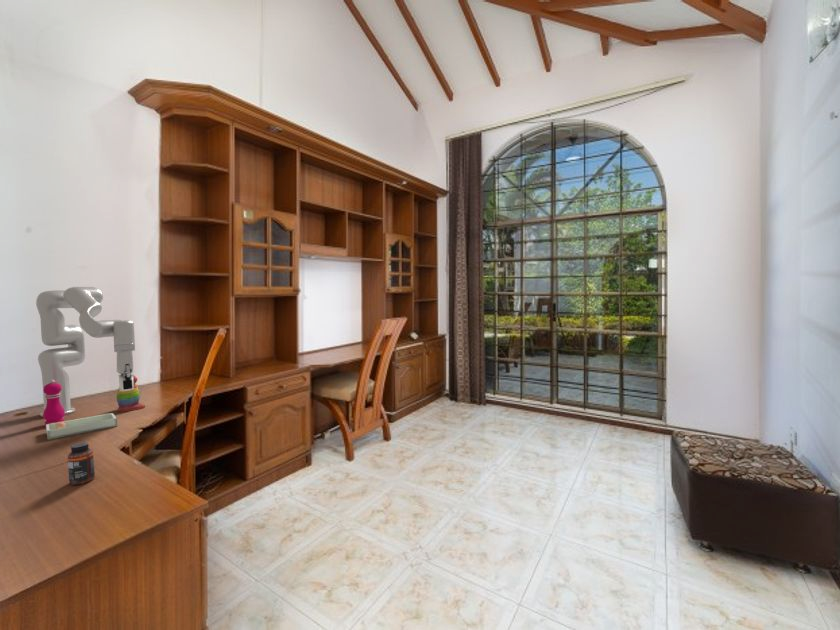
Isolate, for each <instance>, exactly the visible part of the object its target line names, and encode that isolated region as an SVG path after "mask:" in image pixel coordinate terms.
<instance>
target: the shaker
mask: <svg viewBox="0 0 840 630" xmlns="http://www.w3.org/2000/svg"><path fill="white" fill-rule="evenodd" d="M125 376H126V375H125ZM133 376H135V375H134V374H133V373H131V378H132V389H125V390H124V389H123V381H124V378H123V375H121V374H119V375H118V384H119V386H118V389H120V391H130V390H133V389H134V382H133Z"/></svg>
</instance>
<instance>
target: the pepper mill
mask: <svg viewBox="0 0 840 630" xmlns="http://www.w3.org/2000/svg"><path fill="white" fill-rule="evenodd" d="M54 382H55V380H50V384H47V385H45V387H44V388H43V387H42V392H43V391H44V393H45V394H46V395H45V396H46V397H45V398H47V406H46V408H45V410H44V409H43V412H44V413H43V417H42V418H43V419H44V420H45V421H44V426H45V427H46V424H52V423H58V422H63V421H65V419H64V416H66V414H65V410H64V408H63V407H62V406H61V404H60V400H59V398H60V396H61V395H60V394H61V393H59V392H60V391H61V390H62V387H61V385H60V384H58V383H54Z"/></svg>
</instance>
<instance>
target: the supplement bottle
mask: <svg viewBox="0 0 840 630" xmlns="http://www.w3.org/2000/svg"><path fill="white" fill-rule="evenodd" d="M89 447H90V446H89V442H88V441H87V442H83V441H82V442H78V443H75V444H73V445H70V453H68V455H67V468H68V470H67V471H68V480H69V485H71V486H78V485H83V484H86V483H89V482H92V480H94V479H95V478H96V476H95V473H96V471H95V458H94V451H93V449H92V448H89Z"/></svg>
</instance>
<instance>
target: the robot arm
mask: <svg viewBox="0 0 840 630" xmlns="http://www.w3.org/2000/svg"><path fill="white" fill-rule="evenodd" d="M35 300H36V302H35V304H36V308H37V311H38V315H39V319H40V333H41V335H40V336H41V337H40V338H41V342H42V343H43V345H45V346H48V347H52V346H53V347H54V348H50V349H46V350H43V351H41V352H39V354H38V356H37V361H38V364H39V367H40V371H41V379H42V381H41V382H42V383H41V384H42V389H43V388H44V387H45V385H47V384H50V380H55V382H54V383H58V384H60V385H61V387H62V390H61V391H60V392H59V393H61V394H60V395H61V396H60V398H59V400H60V404H61V406H62V407H63V408H64V410H65V415H68V414H72V413H74V412H75V411H76V408H75V407H72V406H71V389H70V376H69V374H68V372H67V371H66V370H65V369H64V368H65V367H72V366H79V365H81V364H82V363H83V362H85V358H86V347H85V346H86V345H85V333H86V334H88V336H90V337H92V338H96V339H97V338H109V337H113V350H114V351H113V352H114V353H116V372H117V373H118V374H119V375H123V378H124V381H123V389H124V390H125V389H132V378H131V374H133V372H134V360H133V352H134V351H136V344H135V324H134V321H133V320H129V319H127V320H122V319H106V320H103V319H102V320H96V319H95V318H94V317H97V316H98V315H99V314H100V313H101V312H102V309H103V307H102V305H101V303H102V302H103V300H104V296H103V292H102V291H101V290H100V289H99V288H97V287H93V286H72V287H69V288H67V289H66V290H57V289H56V290H45V291H43V292H40V293H39V294H38V295H37V297H36V299H35ZM60 309H74V310H75V311H76V312H77V313H78V314H79V317H78V320H79V325H80V326H79V325H76V324H66V323H65V316H64V314H63V312H61V310H60ZM84 332H85V333H84ZM66 345H67V346H66ZM55 346H66V347H55ZM125 375H126V376H125ZM42 395H43V397H42V398H43V411H42V412H40V413H39V416H40V417H42V418H43V413H44V410H45V408H46V406H47V398H45V397H46V396H45V395H46V394H45V393H44V391H43V390H42Z"/></svg>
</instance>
